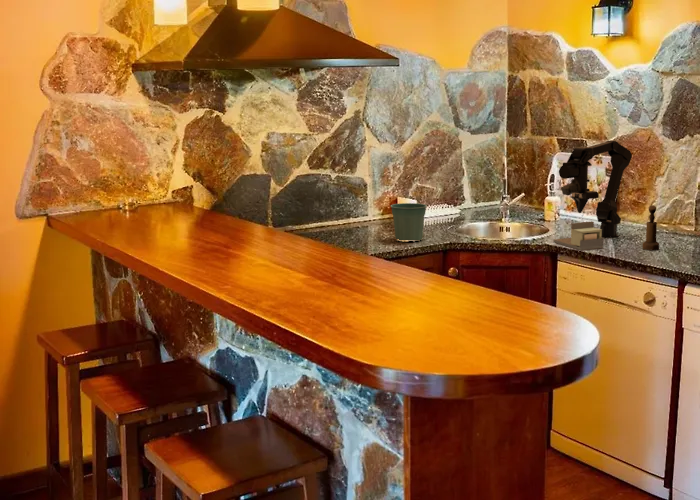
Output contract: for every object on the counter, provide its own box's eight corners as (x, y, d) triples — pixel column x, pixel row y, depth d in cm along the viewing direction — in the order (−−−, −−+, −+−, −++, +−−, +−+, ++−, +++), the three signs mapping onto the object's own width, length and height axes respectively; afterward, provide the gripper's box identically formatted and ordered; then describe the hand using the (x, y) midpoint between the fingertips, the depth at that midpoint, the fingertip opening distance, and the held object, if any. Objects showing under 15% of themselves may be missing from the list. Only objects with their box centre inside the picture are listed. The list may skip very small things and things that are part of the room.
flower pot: (419, 236, 380) (418, 201, 377) (433, 242, 364) (432, 206, 361) (386, 239, 375) (385, 204, 372) (398, 245, 360) (397, 209, 357)
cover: (591, 241, 347) (591, 221, 345) (601, 244, 340) (601, 223, 339) (570, 243, 344) (571, 223, 342) (580, 246, 337) (581, 225, 336)
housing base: (575, 240, 359) (575, 230, 358) (603, 248, 340) (603, 237, 339) (553, 242, 356) (553, 232, 355) (580, 250, 337) (580, 240, 336)
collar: (588, 242, 346) (588, 231, 345) (596, 245, 340) (596, 233, 339) (575, 244, 344) (576, 232, 343) (584, 246, 339) (584, 234, 338)
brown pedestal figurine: (639, 247, 339) (641, 204, 336) (654, 246, 340) (656, 204, 336) (646, 250, 333) (648, 206, 329) (662, 250, 333) (664, 206, 330)
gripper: (552, 176, 357) (551, 211, 360) (577, 180, 340) (576, 217, 343) (574, 174, 360) (573, 209, 363) (600, 178, 343) (598, 215, 346)
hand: (579, 212), depth 354 cm, fingers closed
